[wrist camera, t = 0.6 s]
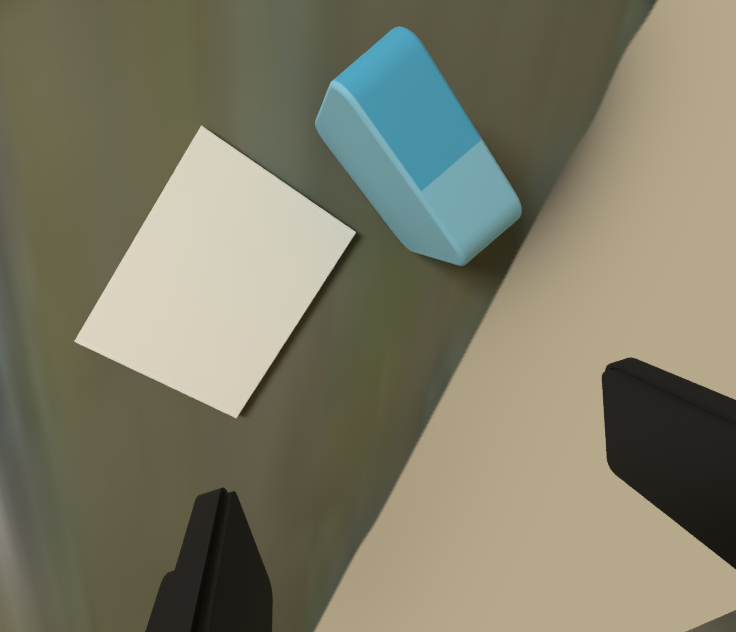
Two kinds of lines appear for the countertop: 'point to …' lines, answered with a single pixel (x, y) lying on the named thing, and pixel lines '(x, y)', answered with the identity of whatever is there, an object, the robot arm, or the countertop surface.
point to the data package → (416, 152)
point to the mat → (215, 277)
